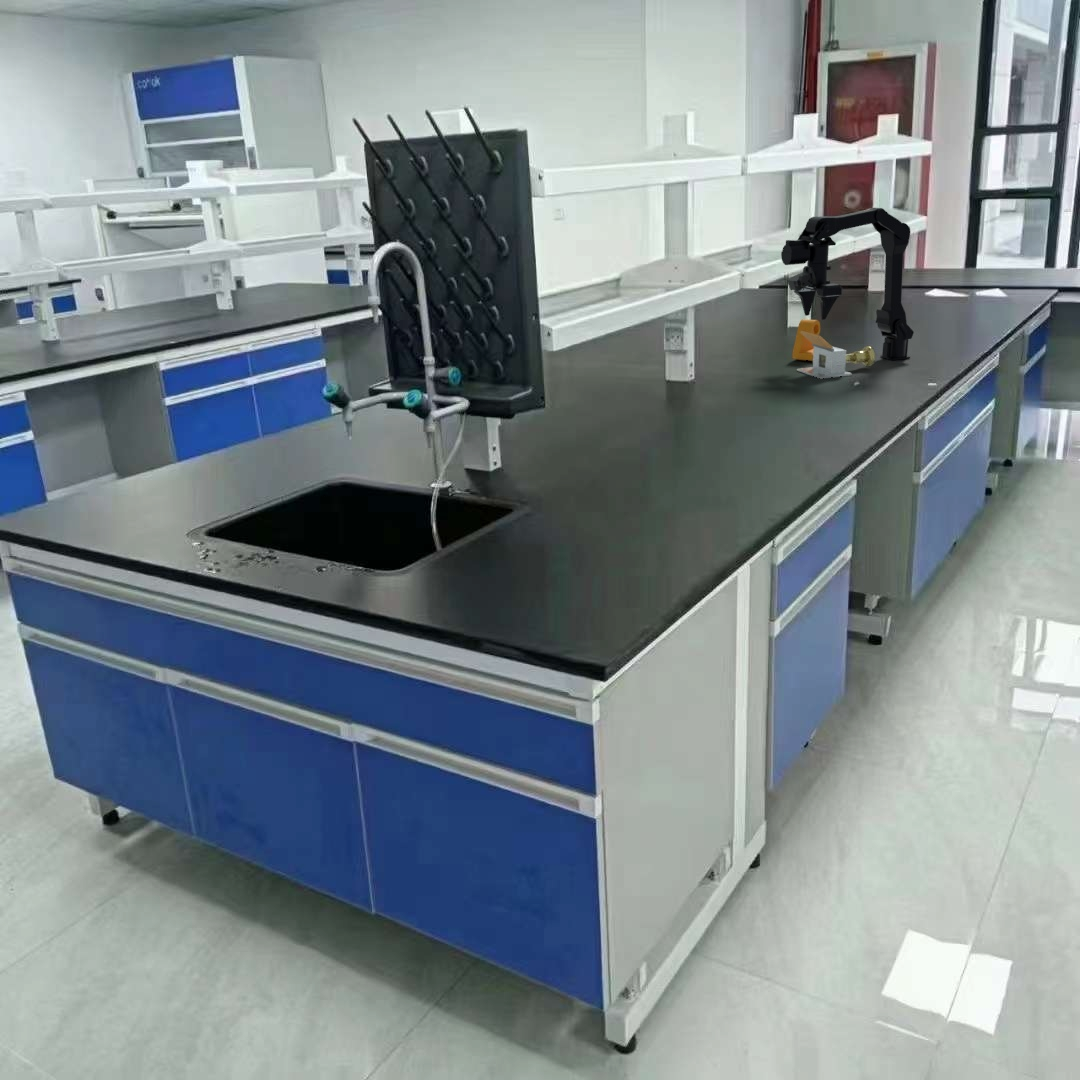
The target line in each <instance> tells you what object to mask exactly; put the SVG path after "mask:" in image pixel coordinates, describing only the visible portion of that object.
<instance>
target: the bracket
mask: <svg viewBox="0 0 1080 1080" xmlns="http://www.w3.org/2000/svg"><path fill="white" fill-rule="evenodd" d="M801 331H805V332H808V333H812V334H816V335H819V336H820V333H821V322H820V321H819V320H818V319H806V318H803V319H801V320H800V321H799V322H798V326H797V331H796V336H795V340H794V345H793V350H792V359H793V360H797V361H798V360H799V361H806V360H808V361H807V362H813V351H814V346H812V344H813V343H811V342H810V341H809V340H808V339H807V338H806V337H805V336H803V335H802V334H801V333H800V332H801Z"/></svg>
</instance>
